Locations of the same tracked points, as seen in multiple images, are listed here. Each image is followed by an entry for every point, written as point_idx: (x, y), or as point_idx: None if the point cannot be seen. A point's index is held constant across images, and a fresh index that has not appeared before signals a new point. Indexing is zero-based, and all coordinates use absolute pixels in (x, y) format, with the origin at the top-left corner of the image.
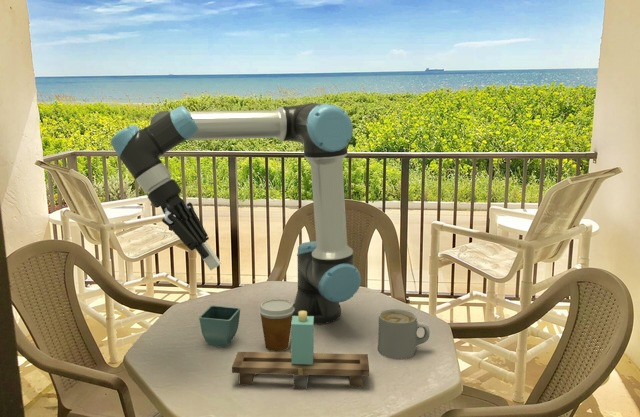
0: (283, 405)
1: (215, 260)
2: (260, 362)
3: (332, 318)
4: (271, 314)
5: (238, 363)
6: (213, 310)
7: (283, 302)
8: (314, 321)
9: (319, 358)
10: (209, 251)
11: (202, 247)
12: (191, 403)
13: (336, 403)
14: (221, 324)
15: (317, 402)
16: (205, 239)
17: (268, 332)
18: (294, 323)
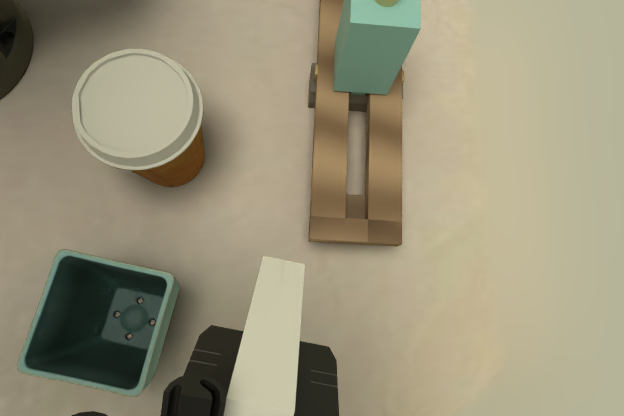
0: (458, 134)
1: (301, 289)
2: (373, 171)
3: (15, 1)
4: (195, 122)
5: (380, 228)
6: (35, 357)
7: (100, 80)
8: (27, 51)
9: None
10: (298, 339)
11: (315, 413)
12: (465, 336)
13: (444, 34)
14: (168, 306)
15: (442, 68)
16: (224, 410)
17: (193, 157)
18: (412, 19)
